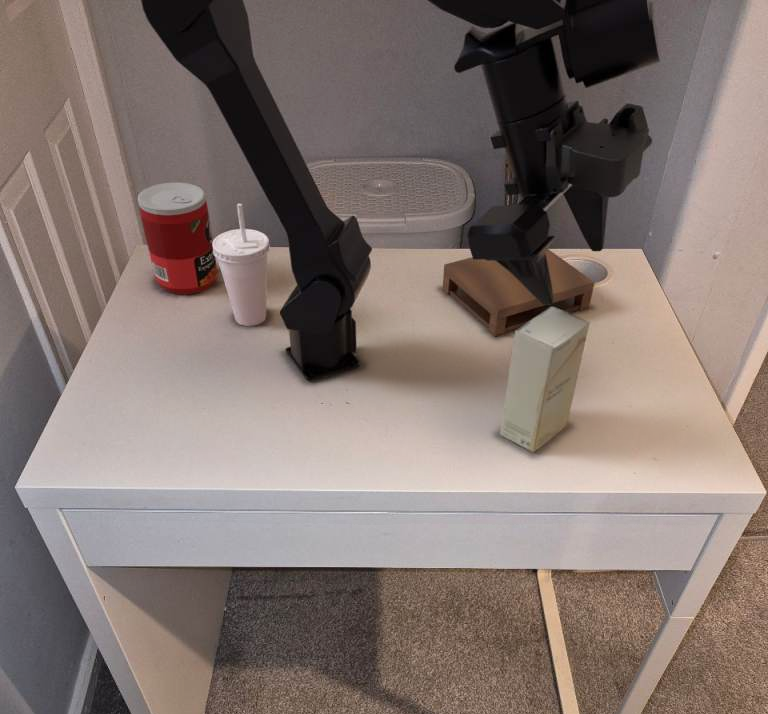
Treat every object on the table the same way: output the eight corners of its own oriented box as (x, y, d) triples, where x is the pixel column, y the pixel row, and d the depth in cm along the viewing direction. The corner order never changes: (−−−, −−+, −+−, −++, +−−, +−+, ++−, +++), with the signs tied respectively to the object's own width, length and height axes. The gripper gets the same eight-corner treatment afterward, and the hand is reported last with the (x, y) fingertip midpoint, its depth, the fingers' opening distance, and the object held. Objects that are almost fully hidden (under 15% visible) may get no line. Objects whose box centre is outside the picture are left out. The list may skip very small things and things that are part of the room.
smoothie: (254, 338, 89) (239, 222, 79) (212, 321, 91) (192, 207, 81) (287, 313, 93) (277, 199, 82) (246, 298, 95) (231, 185, 85)
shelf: (494, 336, 89) (498, 310, 87) (442, 289, 97) (444, 264, 94) (589, 307, 94) (594, 282, 92) (532, 265, 101) (536, 240, 99)
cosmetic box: (533, 454, 75) (554, 350, 66) (497, 434, 77) (512, 331, 68) (568, 424, 78) (592, 321, 70) (532, 406, 80) (552, 304, 72)
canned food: (213, 296, 95) (198, 210, 87) (149, 295, 95) (129, 208, 87) (223, 265, 100) (210, 182, 93) (163, 264, 101) (145, 181, 93)
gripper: (555, 149, 53) (601, 338, 62) (675, 38, 61) (700, 220, 70) (436, 166, 61) (493, 332, 70) (557, 65, 68) (593, 226, 78)
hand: (573, 276), depth 72 cm, fingers open, 9 cm apart
